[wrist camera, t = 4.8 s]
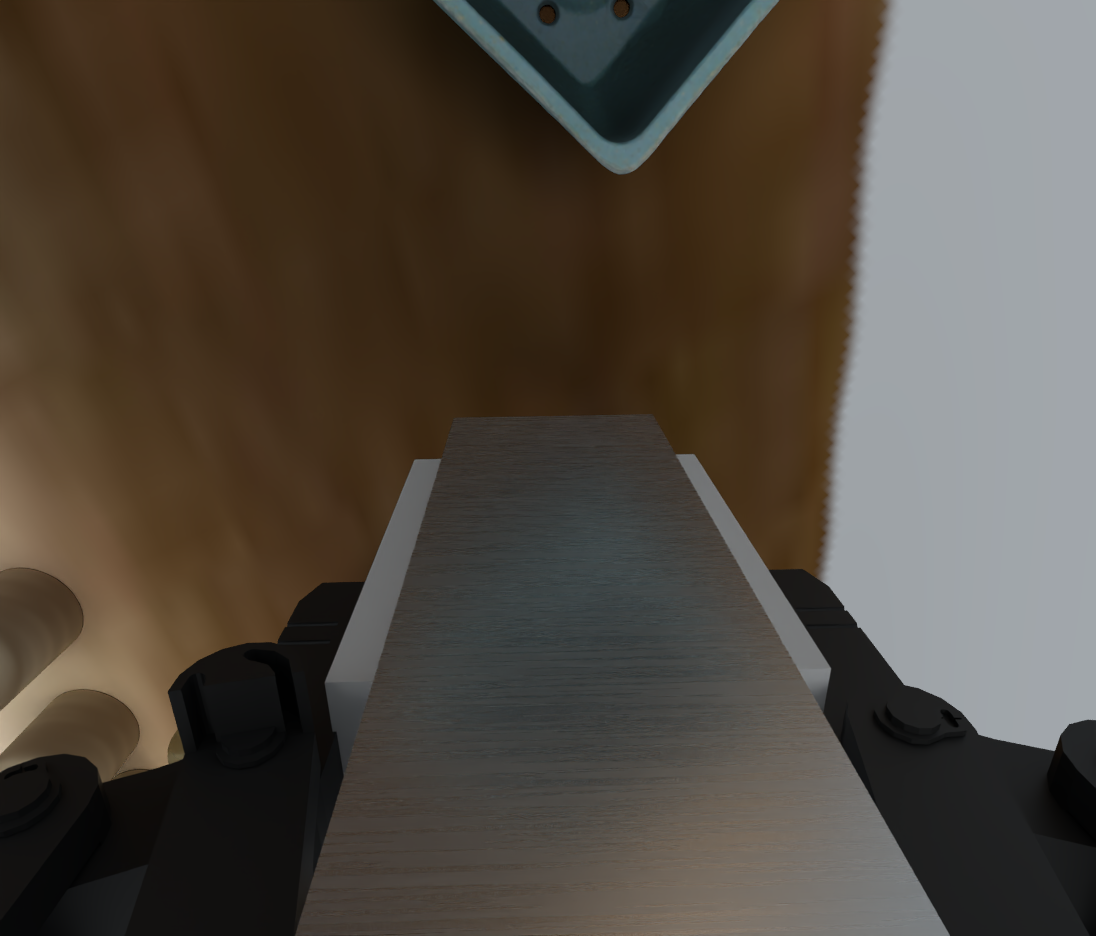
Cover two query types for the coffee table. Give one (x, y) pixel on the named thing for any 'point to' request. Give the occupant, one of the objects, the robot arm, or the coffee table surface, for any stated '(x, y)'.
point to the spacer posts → (26, 650)
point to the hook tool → (594, 722)
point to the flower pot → (612, 62)
